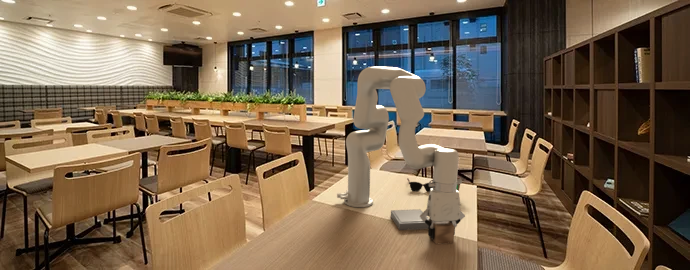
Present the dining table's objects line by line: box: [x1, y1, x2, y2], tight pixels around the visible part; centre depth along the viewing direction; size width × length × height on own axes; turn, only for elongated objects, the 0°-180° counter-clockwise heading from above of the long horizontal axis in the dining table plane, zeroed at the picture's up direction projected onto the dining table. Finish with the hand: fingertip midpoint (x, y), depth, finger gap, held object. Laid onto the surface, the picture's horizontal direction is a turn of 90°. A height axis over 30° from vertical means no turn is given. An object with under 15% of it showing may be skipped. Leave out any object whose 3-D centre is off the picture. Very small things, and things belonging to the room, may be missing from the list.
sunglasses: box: [406, 177, 433, 193], centre depth 166 cm, size 14×16×5 cm
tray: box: [390, 208, 430, 231], centre depth 123 cm, size 12×12×3 cm
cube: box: [432, 221, 456, 245], centre depth 110 cm, size 6×6×6 cm
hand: (441, 236), depth 111 cm, fingers closed on cube, 6 cm apart
